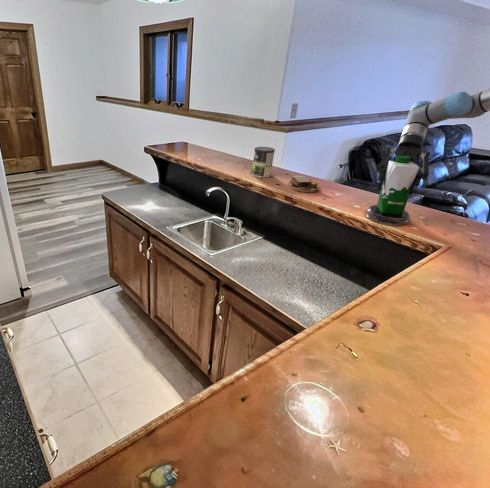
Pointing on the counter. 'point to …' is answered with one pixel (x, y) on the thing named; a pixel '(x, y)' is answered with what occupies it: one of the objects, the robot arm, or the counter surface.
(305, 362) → the counter surface
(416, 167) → the soya milk
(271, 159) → the coffee can
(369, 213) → the stand
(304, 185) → the toy sandwich meal
